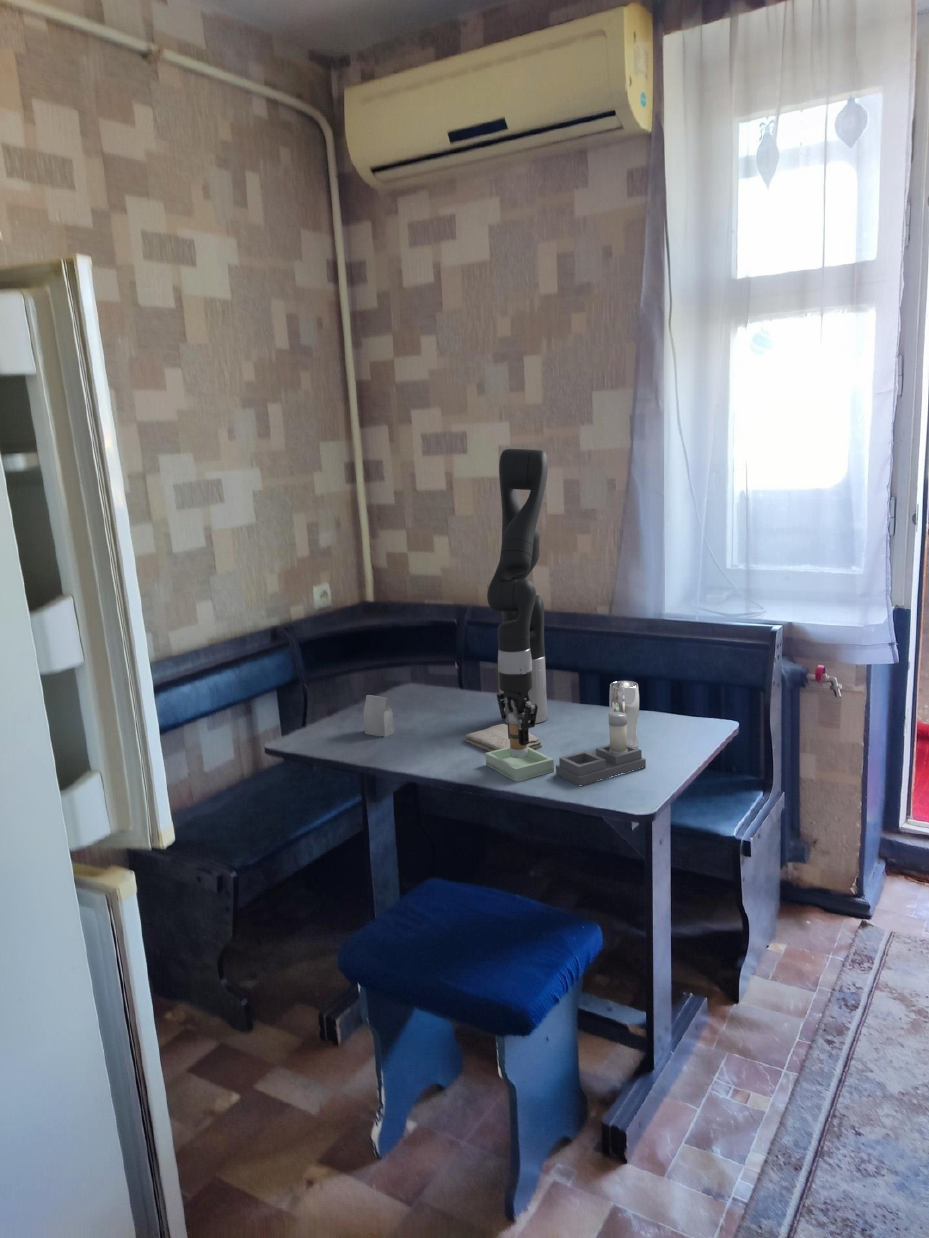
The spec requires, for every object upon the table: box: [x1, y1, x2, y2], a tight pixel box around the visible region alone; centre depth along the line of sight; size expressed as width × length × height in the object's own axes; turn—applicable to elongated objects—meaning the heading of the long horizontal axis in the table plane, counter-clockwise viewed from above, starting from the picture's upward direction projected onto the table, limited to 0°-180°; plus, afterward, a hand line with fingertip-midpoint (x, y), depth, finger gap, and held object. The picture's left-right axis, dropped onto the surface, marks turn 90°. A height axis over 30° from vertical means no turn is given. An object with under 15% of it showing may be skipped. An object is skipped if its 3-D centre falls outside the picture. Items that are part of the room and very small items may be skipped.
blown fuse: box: [508, 711, 528, 758], centre depth 204 cm, size 4×4×10 cm
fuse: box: [608, 712, 628, 755], centre depth 202 cm, size 4×4×10 cm
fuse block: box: [555, 743, 647, 786], centre depth 201 cm, size 9×18×4 cm, turn 119°
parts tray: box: [485, 746, 555, 782], centre depth 206 cm, size 13×10×3 cm
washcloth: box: [464, 723, 543, 752], centre depth 222 cm, size 12×18×3 cm, turn 36°
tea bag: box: [362, 694, 395, 738], centre depth 235 cm, size 4×7×10 cm, turn 56°
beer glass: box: [609, 680, 640, 748], centre depth 216 cm, size 7×7×15 cm
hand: (518, 741), depth 205 cm, fingers closed on blown fuse, 4 cm apart
